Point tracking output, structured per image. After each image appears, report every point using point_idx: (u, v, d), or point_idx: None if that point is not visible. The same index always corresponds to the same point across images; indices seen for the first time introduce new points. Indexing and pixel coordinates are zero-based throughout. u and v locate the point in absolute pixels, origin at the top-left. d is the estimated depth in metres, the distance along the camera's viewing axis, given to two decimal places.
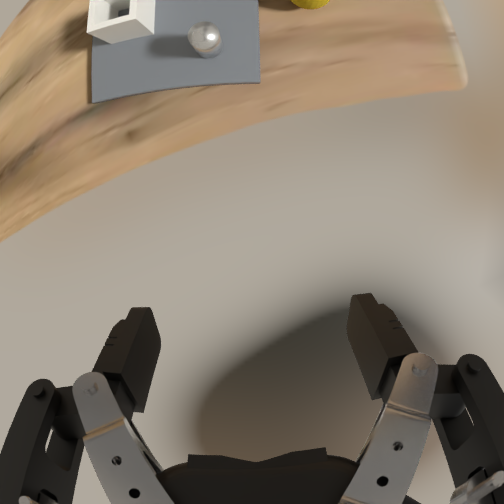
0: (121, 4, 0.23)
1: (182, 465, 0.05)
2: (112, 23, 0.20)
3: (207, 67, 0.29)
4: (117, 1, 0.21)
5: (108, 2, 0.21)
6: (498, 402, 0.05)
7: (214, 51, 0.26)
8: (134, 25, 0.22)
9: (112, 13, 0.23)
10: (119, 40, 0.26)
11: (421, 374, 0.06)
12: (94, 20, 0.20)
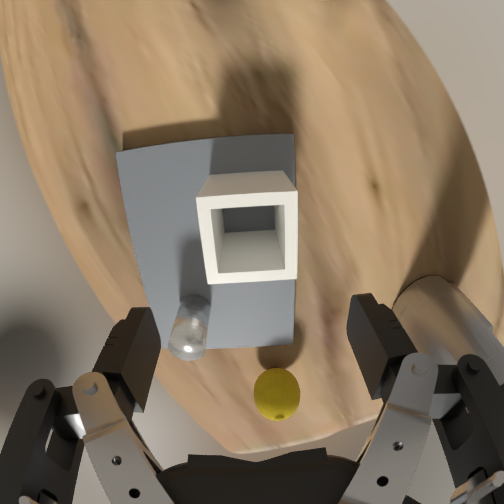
0: None
1: (182, 465, 0.05)
2: (204, 247, 0.18)
3: (168, 305, 0.29)
4: (278, 205, 0.21)
5: None
6: (498, 402, 0.05)
7: None
8: None
9: None
10: None
11: (421, 374, 0.06)
12: (221, 207, 0.17)
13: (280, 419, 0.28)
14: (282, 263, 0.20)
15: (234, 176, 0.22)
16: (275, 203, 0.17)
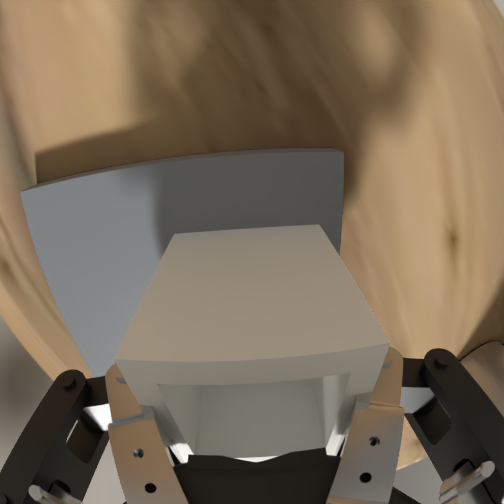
0: None
1: (182, 465, 0.05)
2: None
3: None
4: None
5: None
6: (474, 393, 0.05)
7: None
8: None
9: None
10: None
11: (384, 366, 0.07)
12: (186, 377, 0.06)
13: None
14: (319, 431, 0.09)
15: (222, 245, 0.10)
16: (328, 373, 0.06)
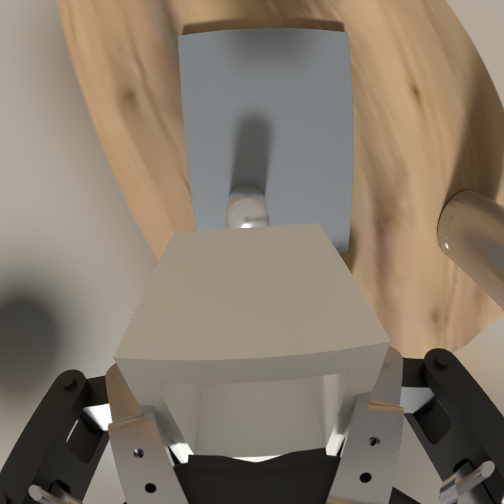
0: None
1: (182, 465, 0.05)
2: None
3: (216, 199, 0.26)
4: None
5: None
6: (473, 394, 0.05)
7: None
8: None
9: None
10: None
11: (384, 366, 0.07)
12: (185, 376, 0.06)
13: None
14: (319, 430, 0.09)
15: (222, 244, 0.10)
16: (328, 372, 0.06)
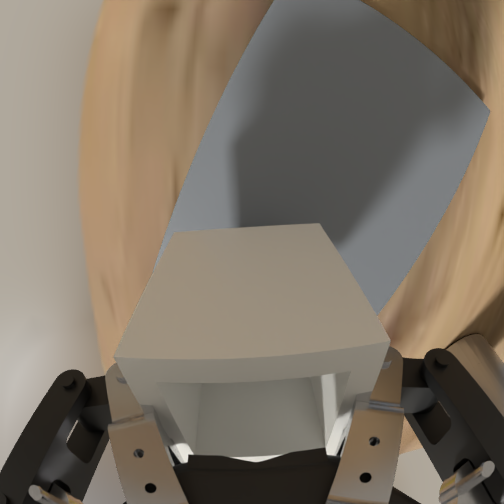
0: None
1: (182, 465, 0.05)
2: None
3: None
4: None
5: None
6: (473, 394, 0.05)
7: None
8: None
9: None
10: None
11: (384, 366, 0.07)
12: (185, 375, 0.06)
13: None
14: (319, 430, 0.09)
15: (222, 244, 0.10)
16: (328, 371, 0.06)
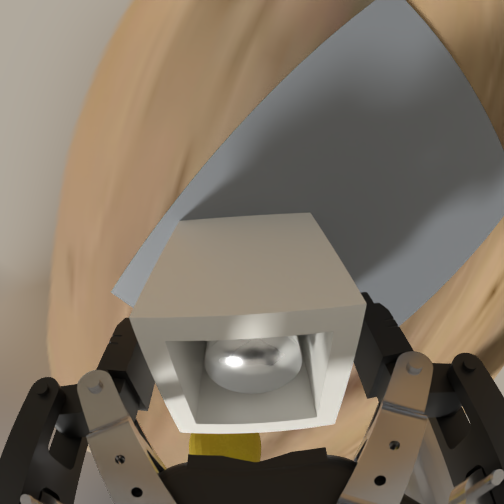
0: None
1: (182, 465, 0.05)
2: (165, 394, 0.08)
3: None
4: None
5: None
6: (495, 401, 0.05)
7: None
8: None
9: None
10: None
11: (415, 372, 0.07)
12: (190, 334, 0.07)
13: None
14: (311, 400, 0.10)
15: (222, 229, 0.12)
16: (313, 330, 0.07)
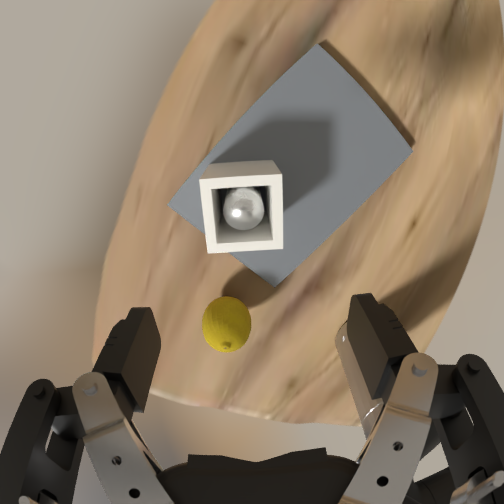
0: (266, 185, 0.26)
1: (182, 465, 0.05)
2: (206, 221, 0.22)
3: None
4: (267, 188, 0.25)
5: None
6: (498, 402, 0.05)
7: None
8: None
9: None
10: None
11: (421, 374, 0.06)
12: (220, 187, 0.21)
13: (226, 348, 0.29)
14: (271, 236, 0.24)
15: (231, 164, 0.25)
16: (264, 184, 0.21)
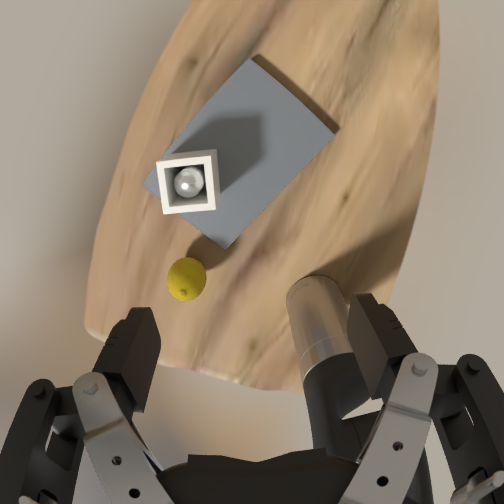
0: None
1: (182, 465, 0.05)
2: (161, 190, 0.30)
3: None
4: None
5: None
6: (498, 402, 0.05)
7: None
8: None
9: None
10: None
11: (421, 374, 0.06)
12: (170, 167, 0.29)
13: (183, 294, 0.37)
14: (208, 201, 0.32)
15: (184, 153, 0.34)
16: (198, 163, 0.29)
